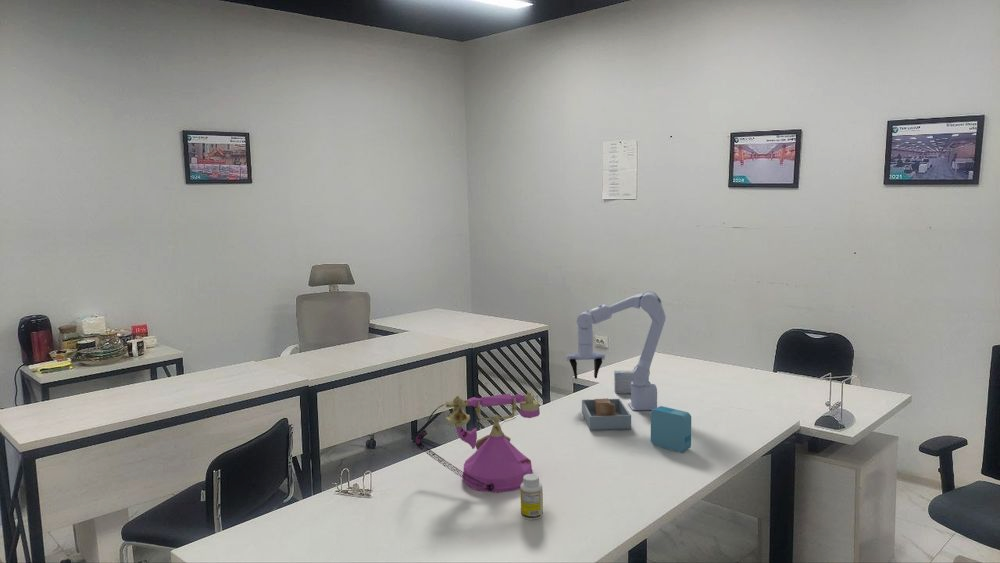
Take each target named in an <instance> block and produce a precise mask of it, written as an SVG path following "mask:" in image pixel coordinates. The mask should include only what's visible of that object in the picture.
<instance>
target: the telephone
mask: <svg viewBox="0 0 1000 563" xmlns="http://www.w3.org/2000/svg"><path fill="white" fill-rule="evenodd" d="M517 404H519V415H520V417H523V418H527V419H531V418H532V419H533V418H536V417H539V416H540V415H541V414H540V403H539V400H536V399H535V397H534V395H533V394H532V391H527V392H526V395H525V394H519V393H516V394H514V395H513V394H512V395H511V393H503V394H498V395H489V396H481V397H480V398H479V397H475V396H473V397H471V398H470V397H469V398H468V399H462V398H461V397H460V395H456V396H455V398H453V399H452V401H450V400H449V401H445V404H441V405H439V406H438V407H437V408H436V409H434V410H433V412H432V413H431V414H430V416H429V418H428V419H427V422H426V424H425V426H424V429H422V431H420V433H418V434H417V436H416V437H415V444H416V446H417V447H418V449H420V450H421V451H423V452H424V453H425V454H427V455H428V456H430V457H431V458H432V459H434V460H435V461H437V462H438V463H440V464H441V465H442V466H444V467H445V468H447V469H450V471H451V472H453V474H455V475H458V476H460V478H462V479H463V481H464V482H465V483H466V485H467V486H468V487H469V488H472V489H474V490H477V491H479V492H480V491H481V492H489V493H498V494H499V493H505V492H506V493H507V492H512V491H516V490H519V489H520V486H521V484H522V483H523V476H524V475H526V474H535V473H534V470H533V466H532V462H531V459H530V458H528V457H527V456H526V455H525V454H524V453H522V452H521V451H520V450H519V449H517V447H516V446H515V445H514V444H512V443H511V438H510V437H509V436H507V435H506V434H505V433H504V432H503V430H502V427H501V426H502V425H503V424H504V423H505V422H509V421H512V420H515V419H516V418H517V417H514V416H515V412H516V411H517ZM506 405H507V406H508V405H511V406H510V407H511V415H506V416H500V415H498V414H494V415H493V417H481V407H482V408H485V407H486V408H487V407H495V406H506ZM443 406H445V407H446V408H454V409H453V411H452V412H451V413H450V414H449V415H447V416H446V417H445V420H446V421H447V423H448V425H454V426H455V428H456V433H457V435H458V438H459V439H460V440H461V441H462V442H465V443H466V444H468V445H470V446H469V447H471V449H472V450H475V449H476V451H474V453H472V454H471V455H470V456H469V457H468V458H467V459H466V460H465V462H464V463H463V471H462V470H461V469H459V468H458V467H456V466H454V465H453V464H451V463H450V462H448V461H447V460H445V459H444V458H442V457H441V456H440V455H438V454H437V453H436V452H435V451H432V449H430V448H428V447H427V446H426V445H424V444H423V443H422V440H423V438H425V436H427V435H428V432H427V430H426V428H427V425H428V423H429V421H430V419H431V418H432V416H433V415H434V413H435V412H436V411H437V410H438V409H440V408H441V407H443ZM466 406H467V407H474V408H475V412H476V415H477V418H478V419H479V420H476V422H479V423H483V424H484V423H485V424H487V423H488V424H490V421H493V422H494V423H493V424H492V427H491V432H490V433H489V434H486V435H485V436H483V437H480V438H479V439H478V432H477V431H478V430H477V428H476V427H475V428H473V429H472V430H466V429H464V428H463V427H462V426H463V425H467V424H468V423H469V421H470V420H471V415H470V414H467V413H466V412H465V411H464V410H463V409H462V407H466ZM510 418H511V419H510ZM502 419H508V420H504V421H503V422H502V423H501V424H500V420H502Z"/></svg>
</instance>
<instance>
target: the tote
mask: <svg viewBox="0 0 1000 563" xmlns="http://www.w3.org/2000/svg"><path fill="white" fill-rule="evenodd" d="M595 399H596V398H593V399H581V414H582V416H584V417H583V418H584V421H585V424H586V425H587V428H588V427H589V428H588V429H589V431H590V432H596V431H597V432H599V431H601V432H602V431H603V432H604V431H628V430H630V431H632V414H631V413H630V412H629V410H628V409H627V407H626V406H625V404H624V403H623V400H621V398H608V399H609V401H610V402H611V403H613V404H615V416H597V415H596V413H595Z"/></svg>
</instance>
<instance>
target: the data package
mask: <svg viewBox="0 0 1000 563" xmlns="http://www.w3.org/2000/svg"><path fill="white" fill-rule="evenodd" d="M650 443H651V444H652V445H653V446H656V447H658V448H663V449H666V450H670V451H673V452H677V453H679V454H680V453H684V452H685V451H687V450H689V449H690V448H691V446H692V415H691V414H690V413H689V412H688V411H685V410H680V409H675V408H671V407H667V406H663V405H661V406H657V408H655V409H653V410H650Z"/></svg>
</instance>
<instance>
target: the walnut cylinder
mask: <svg viewBox="0 0 1000 563" xmlns="http://www.w3.org/2000/svg"><path fill="white" fill-rule="evenodd" d="M601 416H615V404H613V403H602V404H601Z"/></svg>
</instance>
